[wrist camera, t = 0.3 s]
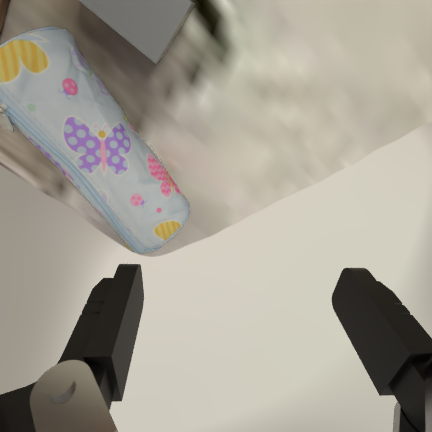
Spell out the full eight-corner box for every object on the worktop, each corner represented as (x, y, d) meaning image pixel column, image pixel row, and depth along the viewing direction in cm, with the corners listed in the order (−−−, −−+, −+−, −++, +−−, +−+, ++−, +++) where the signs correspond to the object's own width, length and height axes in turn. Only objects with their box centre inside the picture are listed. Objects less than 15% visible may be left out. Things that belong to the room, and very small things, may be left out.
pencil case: (3, 64, 25) (-85, 88, 17) (72, 9, 22) (5, 9, 15) (142, 217, 36) (125, 272, 29) (197, 192, 34) (194, 243, 27)
